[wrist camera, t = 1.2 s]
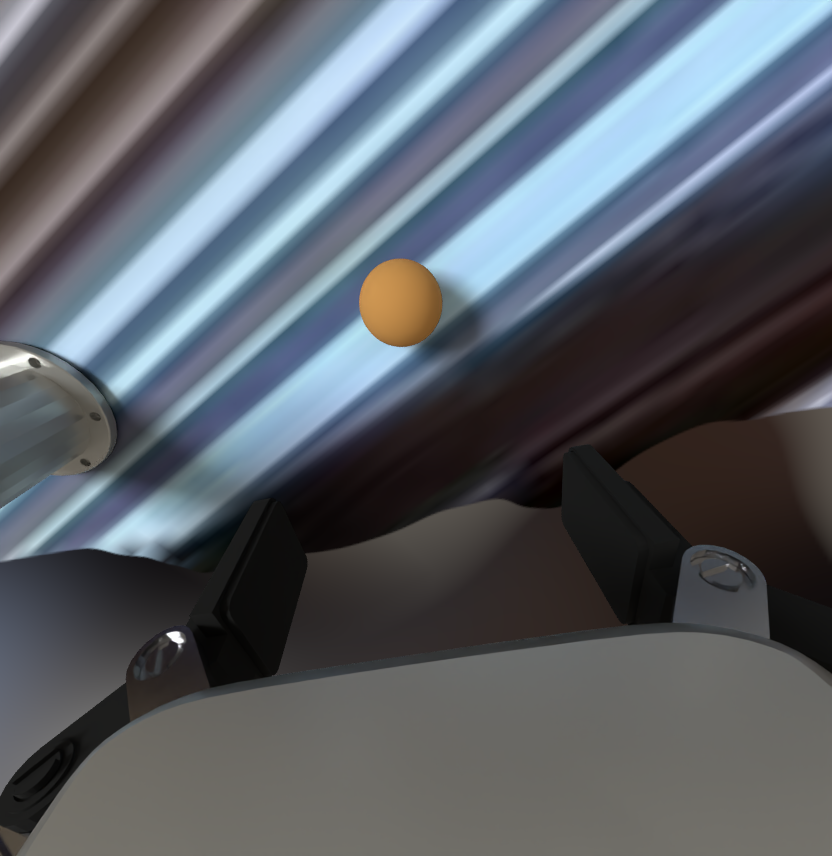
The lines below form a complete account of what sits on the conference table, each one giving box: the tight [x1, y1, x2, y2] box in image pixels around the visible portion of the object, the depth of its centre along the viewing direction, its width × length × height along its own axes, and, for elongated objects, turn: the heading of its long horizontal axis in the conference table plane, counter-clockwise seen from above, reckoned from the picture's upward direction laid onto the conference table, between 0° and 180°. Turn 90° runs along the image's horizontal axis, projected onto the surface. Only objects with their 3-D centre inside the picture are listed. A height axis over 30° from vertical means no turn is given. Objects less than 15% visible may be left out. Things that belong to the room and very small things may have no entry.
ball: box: [359, 259, 442, 347], centre depth 25 cm, size 6×6×6 cm
